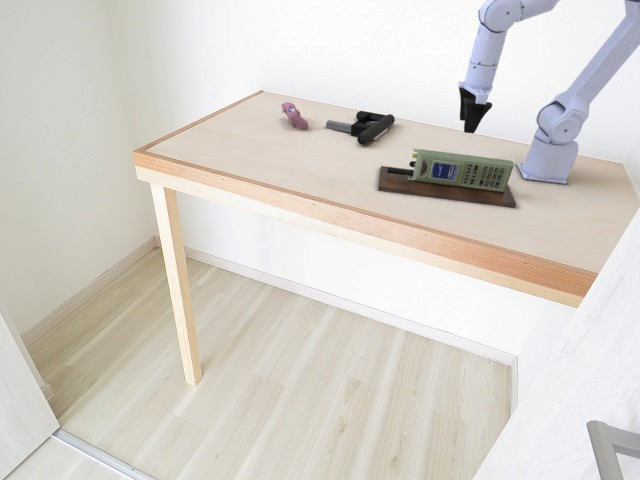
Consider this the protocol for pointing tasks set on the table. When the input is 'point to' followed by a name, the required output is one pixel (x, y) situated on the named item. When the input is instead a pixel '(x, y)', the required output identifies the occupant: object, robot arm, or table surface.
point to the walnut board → (442, 190)
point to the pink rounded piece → (294, 115)
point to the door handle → (365, 126)
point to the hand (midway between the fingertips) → (466, 126)
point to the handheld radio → (458, 170)
